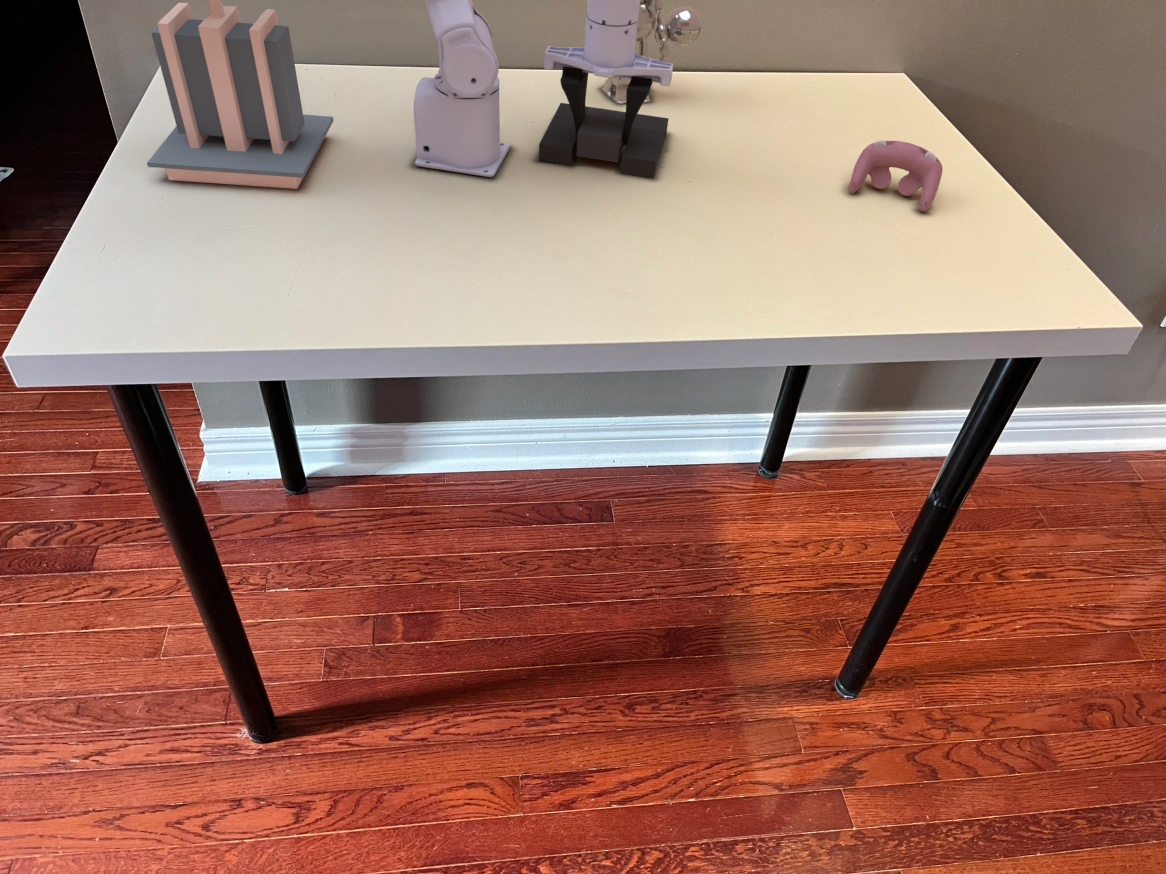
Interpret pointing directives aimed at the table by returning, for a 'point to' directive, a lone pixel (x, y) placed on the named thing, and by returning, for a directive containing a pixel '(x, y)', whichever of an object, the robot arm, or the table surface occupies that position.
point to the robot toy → (657, 38)
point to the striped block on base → (233, 101)
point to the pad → (601, 135)
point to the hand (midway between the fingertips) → (602, 135)
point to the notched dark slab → (638, 150)
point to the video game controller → (904, 156)
